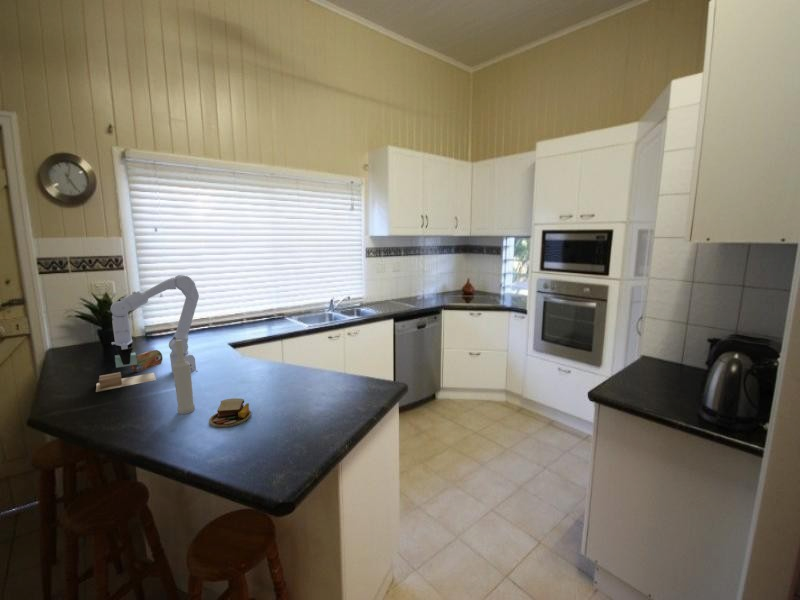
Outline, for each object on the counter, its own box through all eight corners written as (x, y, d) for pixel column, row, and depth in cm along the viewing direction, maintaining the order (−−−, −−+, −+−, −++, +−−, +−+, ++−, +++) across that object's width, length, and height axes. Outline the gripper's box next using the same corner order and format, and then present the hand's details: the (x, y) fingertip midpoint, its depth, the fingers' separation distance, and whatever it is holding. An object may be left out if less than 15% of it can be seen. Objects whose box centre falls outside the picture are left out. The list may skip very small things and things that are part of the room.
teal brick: (137, 364, 157) (136, 354, 156) (116, 367, 152) (114, 358, 152) (136, 361, 161) (135, 352, 160) (115, 364, 156) (114, 355, 156)
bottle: (191, 406, 133) (183, 337, 129) (197, 410, 130) (190, 339, 126) (175, 411, 129) (167, 340, 125) (181, 415, 126) (173, 343, 122)
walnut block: (122, 384, 154) (120, 376, 153) (100, 388, 150) (99, 380, 149) (121, 380, 159) (120, 372, 159) (100, 384, 155) (99, 375, 155)
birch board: (154, 374, 168) (153, 372, 168) (156, 382, 159) (156, 379, 158) (96, 385, 156) (96, 383, 156) (96, 394, 147) (95, 391, 146)
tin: (136, 375, 168) (134, 357, 167) (130, 375, 169) (128, 357, 167) (164, 364, 183) (162, 348, 181) (158, 364, 183) (156, 347, 182)
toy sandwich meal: (202, 430, 116) (200, 415, 115) (220, 411, 130) (219, 397, 129) (243, 428, 117) (242, 413, 116) (257, 409, 130) (256, 396, 129)
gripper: (109, 329, 158) (113, 360, 160) (110, 335, 146) (114, 368, 148) (130, 326, 162) (134, 357, 164) (132, 332, 151) (136, 365, 152)
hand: (126, 362), depth 156 cm, fingers closed on teal brick, 5 cm apart
